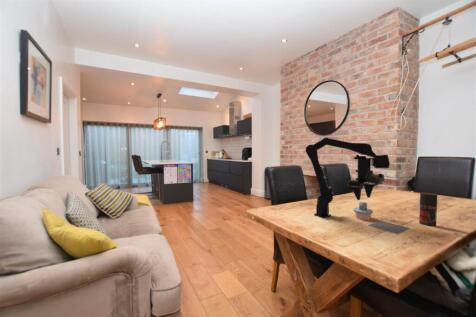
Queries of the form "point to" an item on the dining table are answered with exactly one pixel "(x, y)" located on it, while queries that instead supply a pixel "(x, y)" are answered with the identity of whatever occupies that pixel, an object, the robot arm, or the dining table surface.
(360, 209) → the lid
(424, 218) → the deodorant
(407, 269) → the dining table surface
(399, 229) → the mat
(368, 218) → the pink block
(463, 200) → the dining table surface
